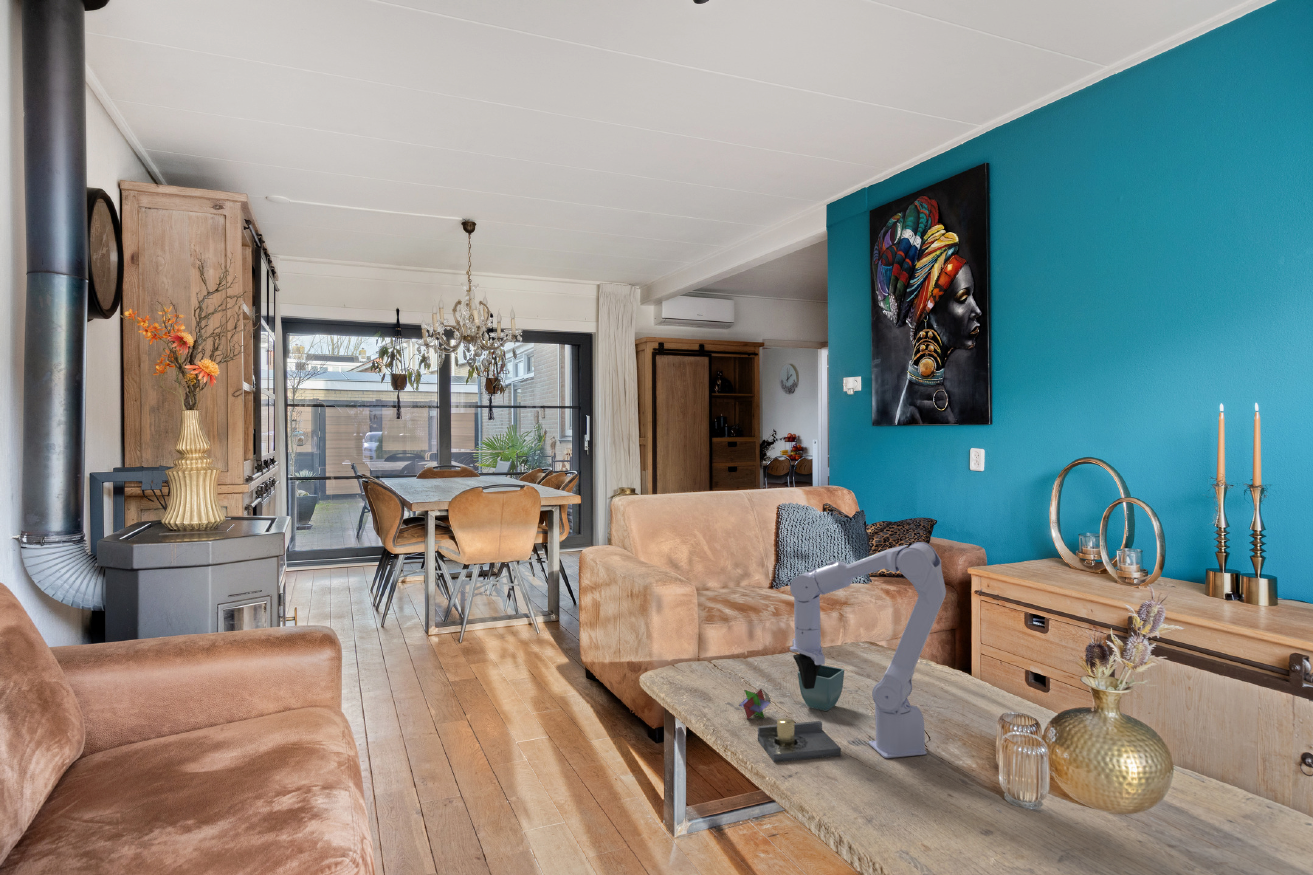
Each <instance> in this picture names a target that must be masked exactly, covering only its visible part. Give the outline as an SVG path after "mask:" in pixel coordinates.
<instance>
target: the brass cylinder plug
mask: <svg viewBox="0 0 1313 875" xmlns="http://www.w3.org/2000/svg"><path fill="white" fill-rule="evenodd" d="M794 723H795V720H793V719H792V718H787V717H783V718H782V717H781V718H778V719H777V720H776V725H777V740H778V745H779V746H784V747H791V746H795V733H794Z"/></svg>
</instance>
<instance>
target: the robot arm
mask: <svg viewBox="0 0 1313 875" xmlns="http://www.w3.org/2000/svg"><path fill="white" fill-rule="evenodd" d="M908 546H909V547H908ZM885 569H886V570H888V571H891V572H893V573H898V572H900V573H901V574H902V575H903V577H905V578H906V579H907V580H908V581H909V582H910V583H911V584H912V586H913V588H914V590H915V591H916V593H917V595H918V596H917V599H916V602H915V604H914V606H913V608H912V611H911V613H910V616H909V618H908V621H907V623H906V624H905V625H906V626H905V628H904V631H903V632H902V635H901V637H900V640H899V642H898V645H897V647H896V650H895V653H894V654H893V657H892V659H891V661H890V663H889V665H888V667H887V669H886V671H885V672H884V675H883V677H882V678H881V680H879V682H877V683H876V684H875V685H874V686H873V688H872V693H871V696H872V700H873V702H874V710H875V711H874V712H875V715H874V717H875V719H874V721H875V740H869V741H868V745H869V746H871V748H873V749H874V750H875V751H876V752H877V753H879V755H881V757H883V758H885V759H890V758H891V759H892V758H894V759H895V758H900V757H901V758H902V757H903V758H904V757H911V756H912V757H913V756H922V755H923V756H924V755H927V754H928V753H927V751H926V745H925V744H926V742H925V740H926V738H925V736H926V735H925V731H926V730H925V718H924V716H923V713H922V711H921V709H920V708H919V707H918V706H917V705H914V704H913V705H911V704H910V701H909V699H908V698H909V696H910V695H911V694H912V691H913V682H912V681H913V676H914V674H915V668H916V666H917V664H918V661H919V660H920V656H921V655H922V653H923V650H924V647H925V646H926V642H927V640H928V638H929V636H930V633H931V631H932V628H933V627H934V624H935V622H936V619H937V617H938V614H939V612H940V609H941V607H942V605H943V602H944V600H945V598H946V594H947V588H946V585H945V579H944V575H943V570H942V560H941V558H940V556H939V555H938V553H937V552H936V550H935V548H934V547H933V546H932V545H930V544H929V543H927V542H922V541H916V542H914V543H912V544H911V545H908V544H906V545H899V546H895V547H892V548H888V549H885V550H882V551H879V552H878V553H875V554H873V555H870V556H867V557H865V558H861V559H859V560H856V561H853V562H851V563H849V564H848V563H846V562H844V561H842V560H837V561H836V560H835V559H833V560H830V561H828V562H827V564H826V565H824V566H821V567H818V568H815V567H813V568H810V569H808V571H807V572H806V571H805V572H804V573H801V574H799V575H797V576H796V577H794V578H793V579H792V581H791V582H790V585H789V590H790V593H791V596H792V597H793V600H794V601H793V602H794V603H793V604H794V605H793V609H794V612H793V614H794V615H793V616H794V619H793V620H794V621H793V622H794V638H792V646H789V651H791V652H792V653H797V654H793V656H792V658H793V659H794V661H795V663H796V666H797V667H798V671H799V672H800V676H801V680H802V684H803V687H804V688H805V689H814V686H815V682H816V677H817V674H818V671H819V668H820V666H821V665H824V666H825V664H826V660H825V659H826V656H825V655H824V652H823V647H822V643H821V642H822V639H821V638H822V635H821V606H820V604H821V602H820V601H821V598H820V597H821V595H822V596H823V595H827V594H829V593H833V592H837V591H839V590H842V589H845V588H847V587H850V586H851V585H852V581H853V579H855V578H859V577H861V576H865V575H869V574H872V573H875V572H878V571H881V570H885ZM798 653H799V654H798Z"/></svg>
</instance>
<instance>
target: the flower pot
mask: <svg viewBox="0 0 1313 875" xmlns="http://www.w3.org/2000/svg"><path fill="white" fill-rule="evenodd" d="M844 678H845V669H844V668H840V667H833V666H828V665H825V664H824V665H821V666H820V668H819V671H818V674H817V677H816V682H815V686H814V689H805V688H804V687H803V684H802V680H801V676H800V672H799V670H798V671H797V679H798V685H799V691H800V694H801V697H802V699H803V701H804V703H805V705H806V706H807V708H810V709H811V708H812V709H815V710H819V711H824V712H825V711H826V712H828V711H829V710H831V709H833V708H834V707H835V706H836V705H837V703H838V701H839V700H840V698H841V694H842V692H843V687H844Z"/></svg>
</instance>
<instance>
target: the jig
mask: <svg viewBox="0 0 1313 875" xmlns="http://www.w3.org/2000/svg"><path fill="white" fill-rule="evenodd" d="M794 733H795V746H791V747H784V746H779V745H778V740H777V724H768V725H759V726H758V725H757V742H758V743H759V744H760V746H761V747H762V748H763V750H764V751H765V752H766V754H767V756H769V758H770V759H771V760H772V761H773V763H779V762H789V761H790V762H791V761H803V760H810V759H811V760H812V759H823V758H822V757H824V758H832V757H833V758H834V757H841V756H842V748H841V746H839V745H838V744H837V743H836V742H835V741H834V740H833V739H832V738H831V737H830V736H829V735H828V734H827V733H826V732H825V731H824V730H823V722H822V721H821V720H817V721H806V722H804V721H803V722H794ZM840 755H841V756H840Z"/></svg>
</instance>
